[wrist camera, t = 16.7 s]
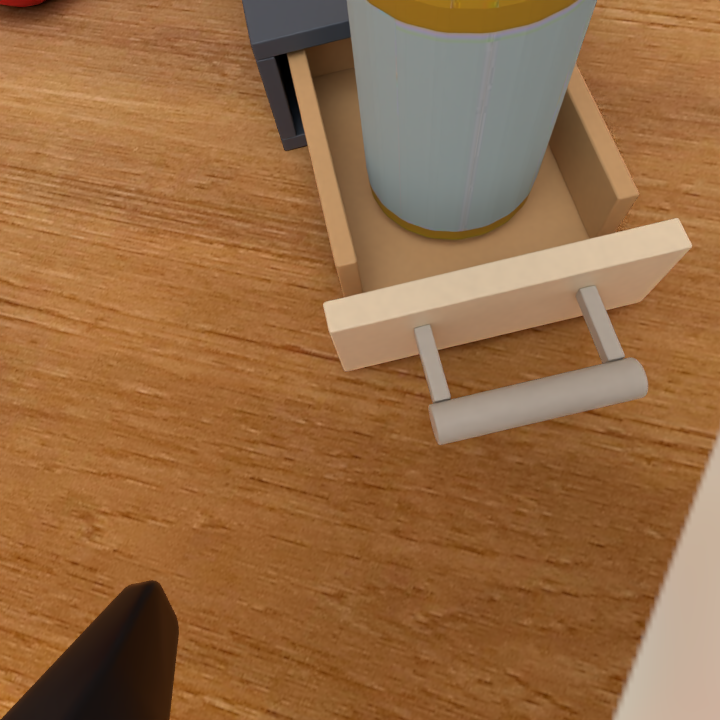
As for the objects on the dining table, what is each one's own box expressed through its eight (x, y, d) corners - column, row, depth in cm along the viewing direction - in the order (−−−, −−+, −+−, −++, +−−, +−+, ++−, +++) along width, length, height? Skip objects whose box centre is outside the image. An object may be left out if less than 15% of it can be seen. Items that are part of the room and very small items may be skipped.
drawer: (684, 399, 20) (753, 362, 16) (366, 474, 20) (355, 456, 16) (520, 33, 27) (540, -57, 23) (283, 92, 27) (260, 12, 23)
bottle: (356, 133, 24) (280, -438, 10) (506, 100, 24) (640, -525, 10) (386, 263, 22) (341, -246, 8) (553, 229, 22) (814, -356, 8)
